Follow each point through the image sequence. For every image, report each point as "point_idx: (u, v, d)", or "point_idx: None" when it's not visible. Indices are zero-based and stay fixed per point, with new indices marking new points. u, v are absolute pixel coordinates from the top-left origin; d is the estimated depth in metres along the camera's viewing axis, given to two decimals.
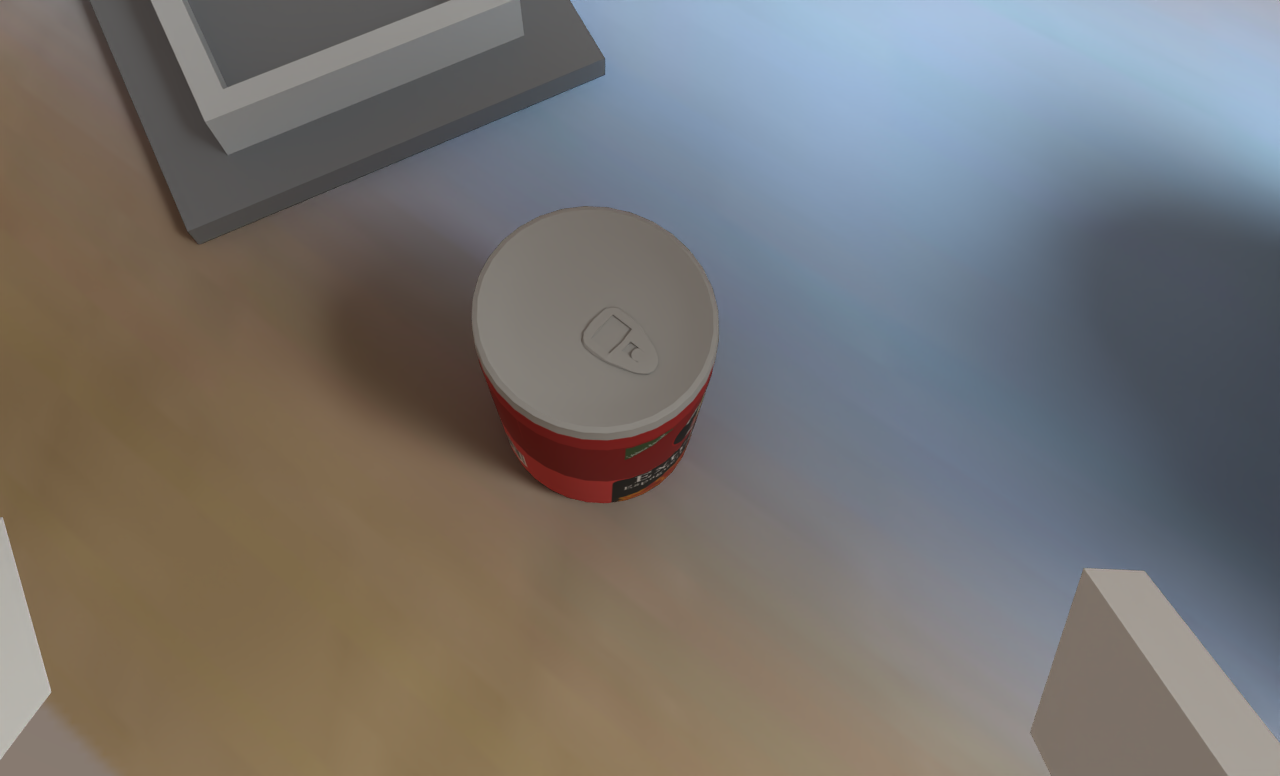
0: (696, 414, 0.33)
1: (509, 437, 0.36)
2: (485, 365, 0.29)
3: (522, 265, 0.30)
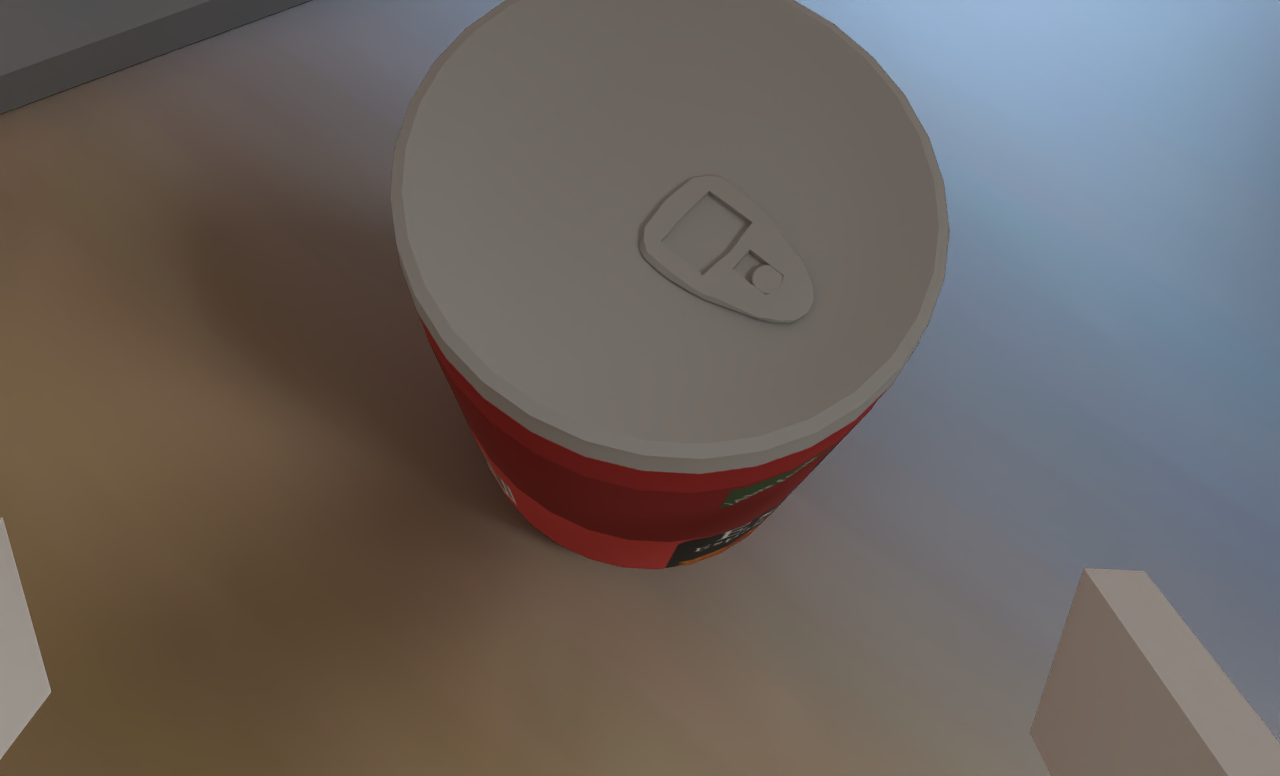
0: None
1: (483, 453, 0.19)
2: (418, 296, 0.12)
3: (509, 84, 0.14)
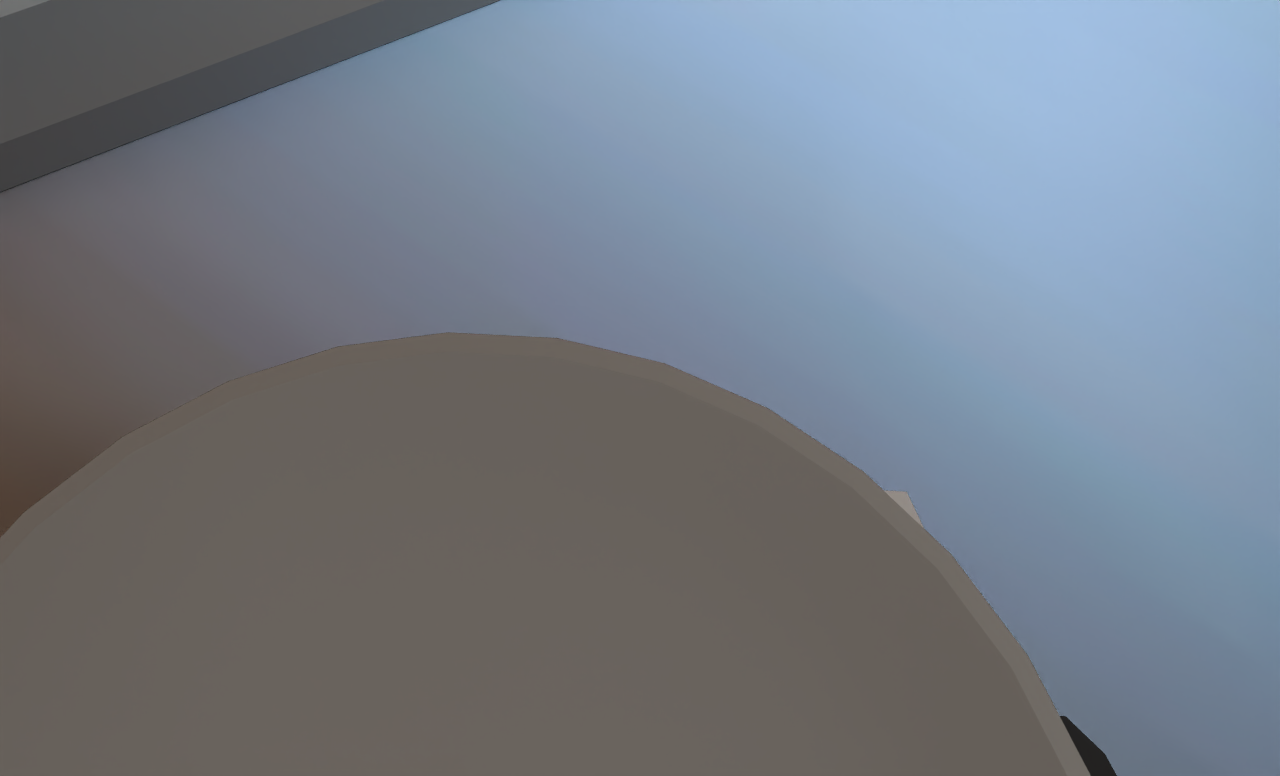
0: None
1: None
2: None
3: (123, 644, 0.06)
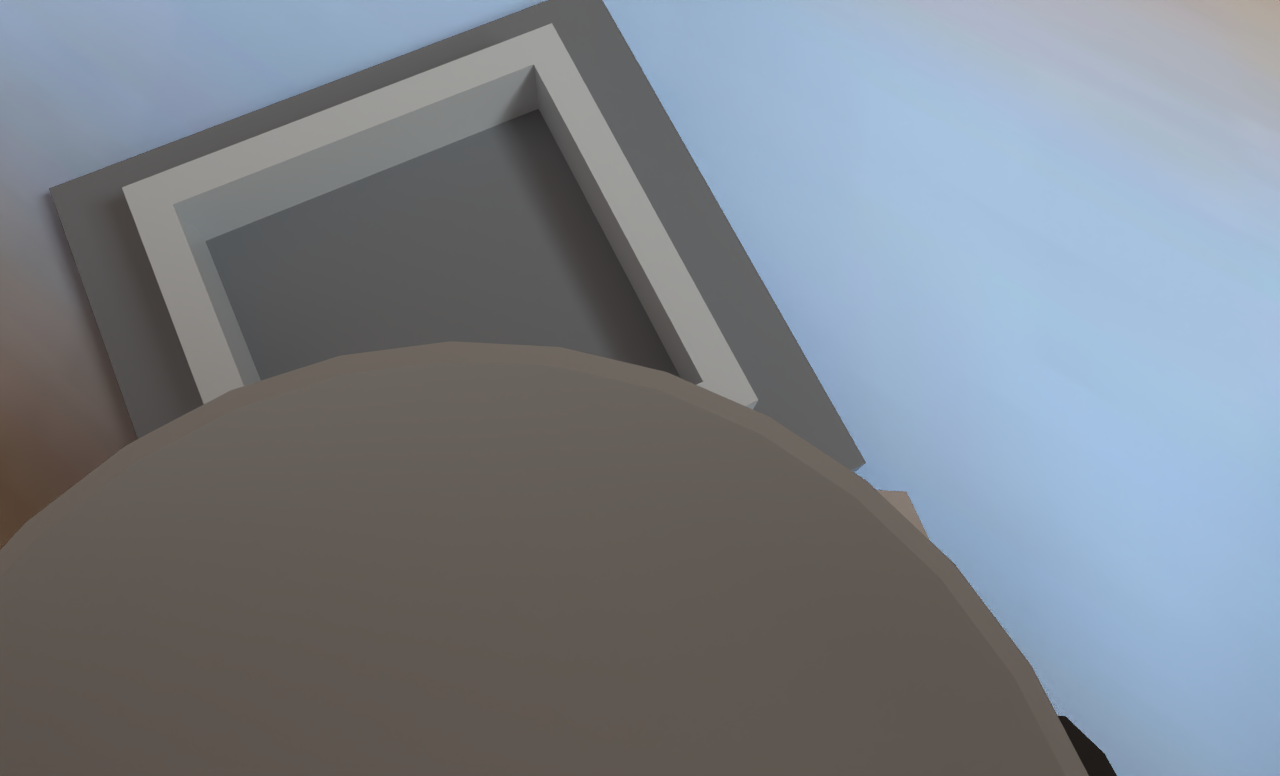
0: None
1: None
2: None
3: (125, 654, 0.06)
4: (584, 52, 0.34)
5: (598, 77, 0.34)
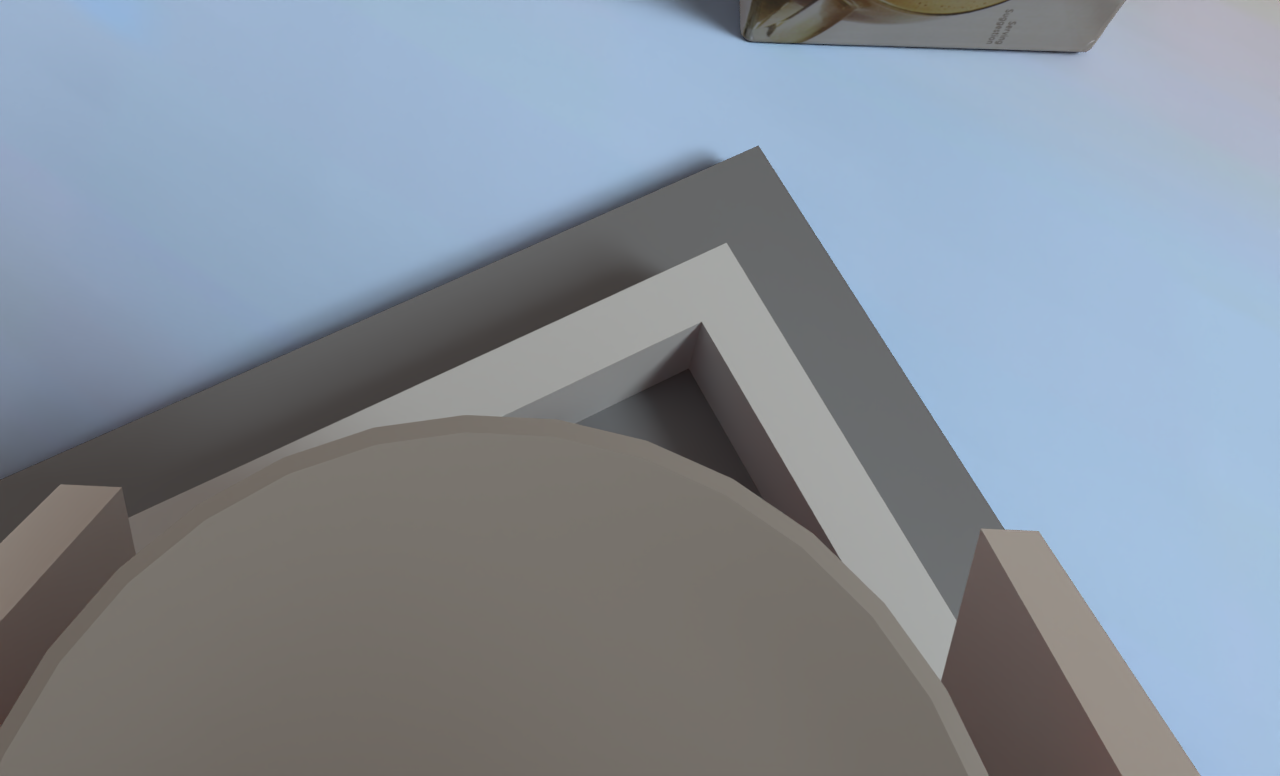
0: None
1: None
2: None
3: (198, 677, 0.07)
4: (756, 265, 0.21)
5: (783, 308, 0.20)
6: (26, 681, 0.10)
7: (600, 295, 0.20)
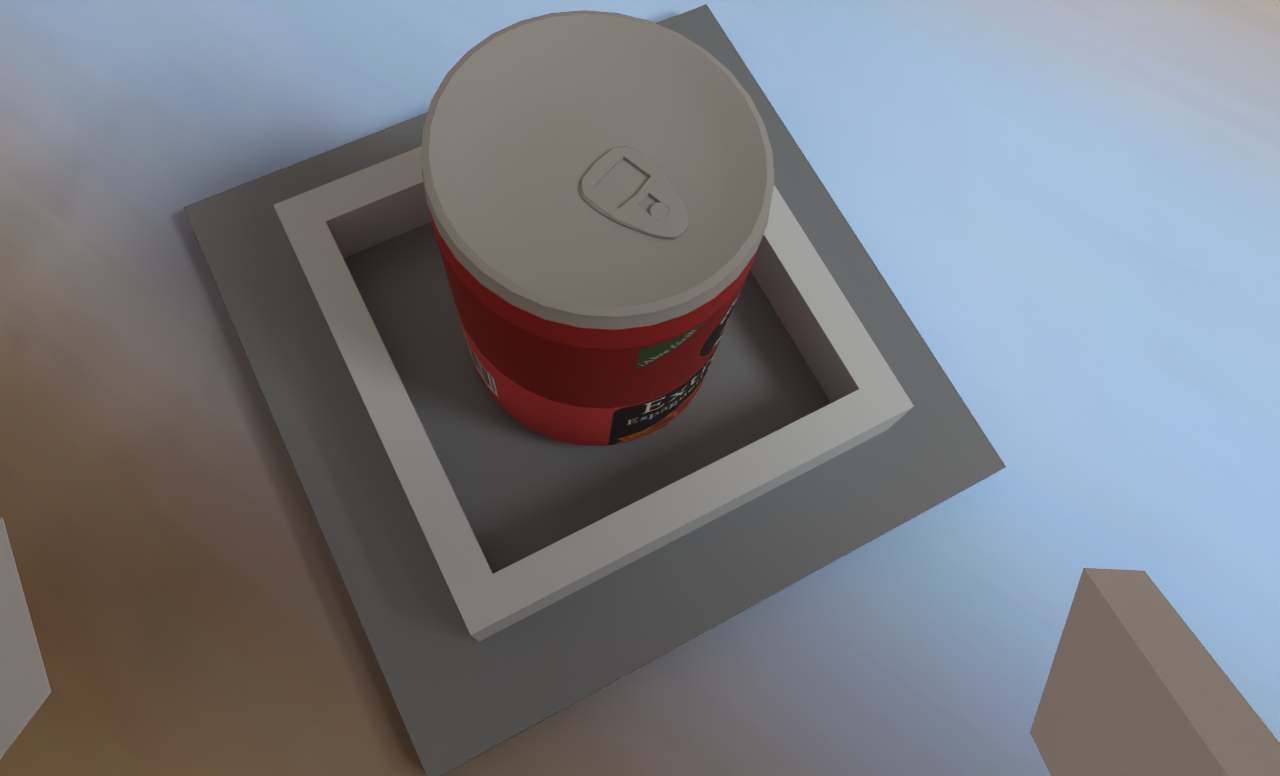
0: None
1: (475, 352, 0.27)
2: (440, 219, 0.20)
3: (496, 88, 0.21)
4: None
5: None
6: None
7: None
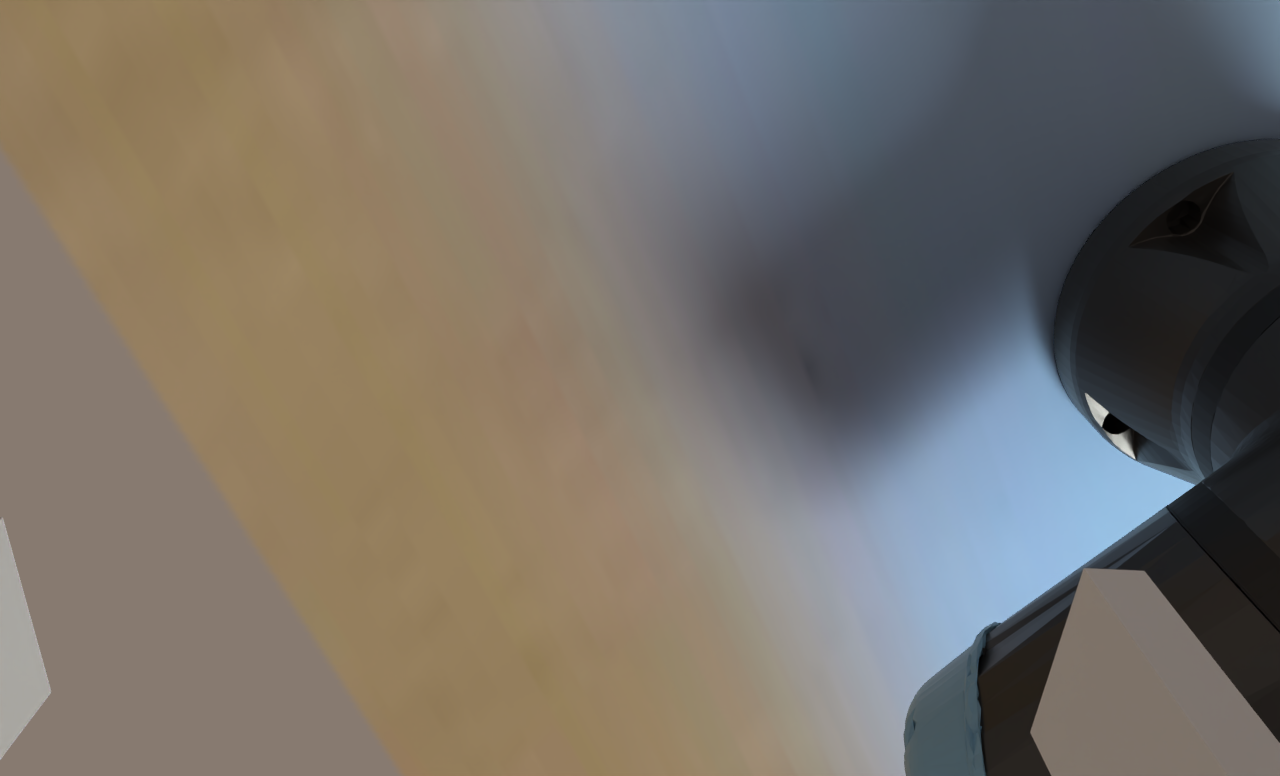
0: None
1: None
2: None
3: None
4: None
5: None
6: None
7: None
